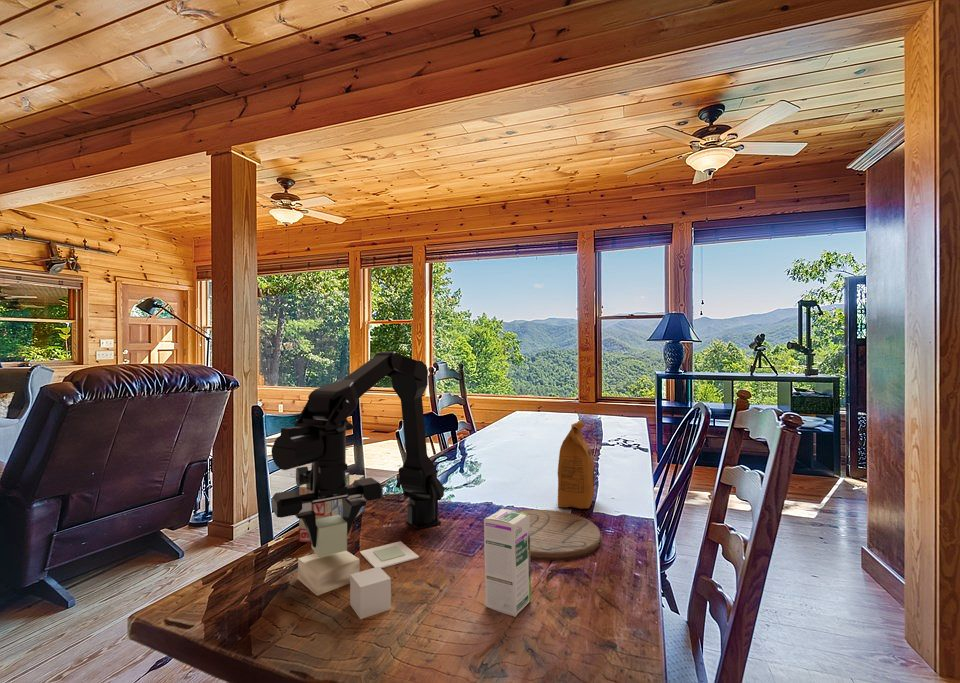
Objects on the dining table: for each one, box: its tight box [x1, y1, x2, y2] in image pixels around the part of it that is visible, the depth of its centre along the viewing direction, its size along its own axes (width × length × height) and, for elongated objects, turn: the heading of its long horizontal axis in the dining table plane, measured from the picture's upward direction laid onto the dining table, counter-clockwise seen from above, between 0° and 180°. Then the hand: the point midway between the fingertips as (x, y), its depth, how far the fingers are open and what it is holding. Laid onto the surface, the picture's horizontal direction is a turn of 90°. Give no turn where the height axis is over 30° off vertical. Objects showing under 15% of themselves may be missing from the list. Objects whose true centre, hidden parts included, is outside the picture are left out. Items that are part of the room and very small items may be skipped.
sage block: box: [310, 515, 348, 557], centre depth 84 cm, size 5×5×5 cm
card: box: [359, 540, 420, 569], centre depth 93 cm, size 9×9×1 cm
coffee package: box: [557, 420, 596, 510], centre depth 125 cm, size 10×12×22 cm
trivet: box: [519, 508, 601, 561], centre depth 104 cm, size 25×25×2 cm
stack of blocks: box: [298, 472, 366, 543], centre depth 110 cm, size 21×6×12 cm, turn 171°
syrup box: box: [483, 508, 532, 618], centre depth 75 cm, size 6×6×14 cm
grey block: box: [349, 567, 392, 620], centre depth 75 cm, size 5×5×5 cm
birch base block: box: [297, 550, 361, 596], centre depth 84 cm, size 8×8×4 cm
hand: (329, 543), depth 84 cm, fingers closed on sage block, 5 cm apart
